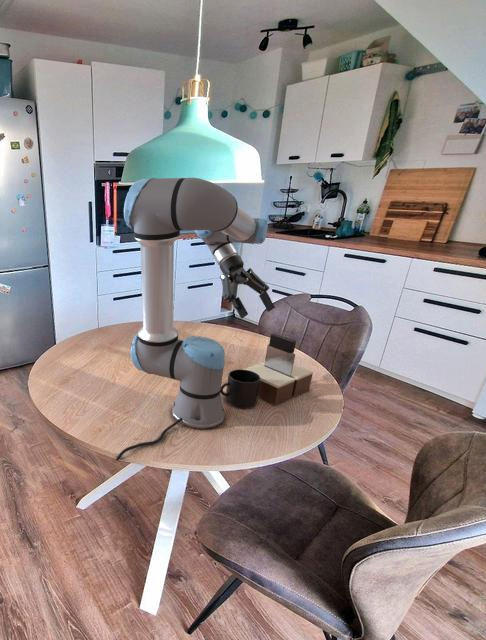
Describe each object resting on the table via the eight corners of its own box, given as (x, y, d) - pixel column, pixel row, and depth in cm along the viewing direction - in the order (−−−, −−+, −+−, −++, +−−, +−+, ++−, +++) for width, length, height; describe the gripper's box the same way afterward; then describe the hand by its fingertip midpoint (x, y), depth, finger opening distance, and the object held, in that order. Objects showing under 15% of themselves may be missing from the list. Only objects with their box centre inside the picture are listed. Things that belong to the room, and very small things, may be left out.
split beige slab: (274, 405, 121) (278, 386, 118) (239, 387, 131) (241, 369, 129) (309, 390, 129) (313, 371, 126) (273, 374, 140) (276, 357, 137)
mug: (213, 395, 126) (215, 370, 123) (247, 392, 128) (251, 368, 124) (224, 410, 118) (228, 384, 114) (261, 407, 119) (266, 381, 116)
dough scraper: (288, 377, 123) (295, 342, 118) (262, 366, 131) (268, 333, 126) (292, 376, 124) (299, 341, 119) (266, 365, 132) (271, 332, 127)
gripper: (245, 263, 143) (274, 312, 138) (196, 271, 131) (225, 325, 126) (259, 250, 137) (290, 301, 132) (209, 257, 125) (240, 313, 119)
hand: (258, 313), depth 129 cm, fingers open, 13 cm apart
